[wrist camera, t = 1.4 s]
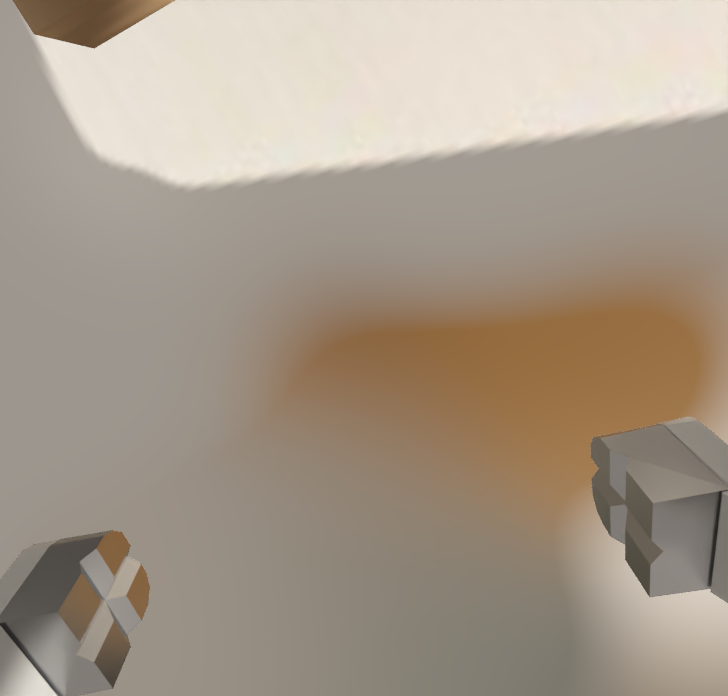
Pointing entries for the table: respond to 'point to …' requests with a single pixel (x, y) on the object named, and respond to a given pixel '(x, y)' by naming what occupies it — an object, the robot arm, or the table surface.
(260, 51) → the table surface
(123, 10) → the oak shaft
